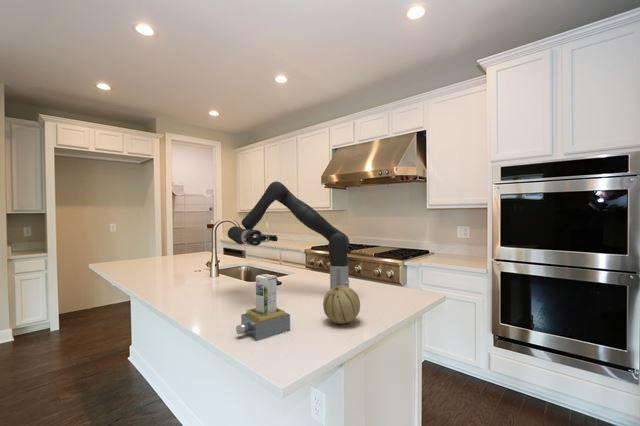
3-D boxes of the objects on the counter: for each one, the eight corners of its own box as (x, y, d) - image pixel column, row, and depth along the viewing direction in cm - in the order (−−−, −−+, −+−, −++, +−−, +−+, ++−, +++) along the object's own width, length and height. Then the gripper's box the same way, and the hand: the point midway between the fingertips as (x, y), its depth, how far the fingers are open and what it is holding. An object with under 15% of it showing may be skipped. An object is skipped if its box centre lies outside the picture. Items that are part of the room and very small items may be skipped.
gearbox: (273, 321, 123) (273, 303, 123) (290, 330, 114) (290, 310, 114) (231, 333, 112) (230, 312, 112) (245, 344, 103) (245, 322, 103)
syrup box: (255, 314, 114) (254, 276, 114) (266, 310, 119) (266, 273, 119) (265, 317, 111) (265, 278, 110) (277, 313, 115) (276, 275, 115)
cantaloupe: (364, 319, 125) (364, 282, 125) (353, 332, 112) (353, 291, 112) (331, 314, 131) (331, 279, 131) (317, 326, 118) (316, 287, 118)
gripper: (237, 230, 144) (253, 232, 131) (264, 228, 153) (281, 230, 140) (237, 246, 144) (253, 249, 131) (264, 243, 153) (282, 246, 140)
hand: (268, 239), depth 135 cm, fingers open, 8 cm apart
